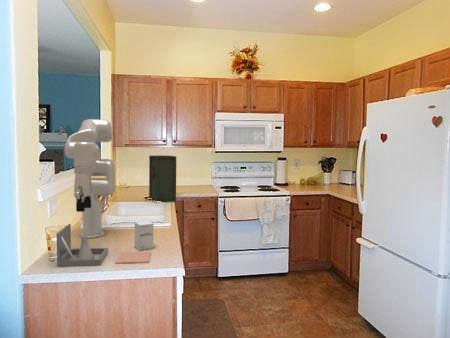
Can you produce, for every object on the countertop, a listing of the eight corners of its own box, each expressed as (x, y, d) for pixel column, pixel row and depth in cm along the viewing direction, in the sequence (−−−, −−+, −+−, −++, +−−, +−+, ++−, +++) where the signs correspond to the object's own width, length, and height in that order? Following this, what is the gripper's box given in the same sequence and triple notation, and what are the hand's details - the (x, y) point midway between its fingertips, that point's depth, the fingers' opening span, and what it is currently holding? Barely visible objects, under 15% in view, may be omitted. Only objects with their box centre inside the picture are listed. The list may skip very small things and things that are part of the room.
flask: (87, 262, 146) (87, 240, 146) (72, 261, 148) (72, 238, 147) (97, 257, 153) (96, 235, 153) (82, 256, 155) (82, 234, 154)
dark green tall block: (176, 201, 302) (176, 156, 299) (155, 203, 293) (156, 156, 290) (168, 198, 318) (168, 155, 315) (149, 199, 309) (149, 155, 306)
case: (69, 253, 157) (68, 223, 156) (108, 252, 160) (107, 223, 159) (57, 266, 141) (56, 233, 140) (100, 265, 144) (100, 232, 143)
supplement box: (138, 250, 164) (139, 225, 163) (134, 246, 170) (134, 221, 169) (153, 248, 168) (153, 223, 167) (148, 244, 174) (148, 220, 173)
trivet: (120, 253, 159) (120, 252, 159) (151, 252, 161) (151, 251, 161) (115, 263, 146) (115, 262, 146) (148, 262, 148) (148, 261, 148)
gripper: (80, 169, 157) (81, 206, 158) (67, 171, 140) (68, 213, 140) (97, 169, 158) (98, 206, 158) (86, 171, 140) (87, 213, 141)
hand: (84, 209), depth 149 cm, fingers open, 9 cm apart
